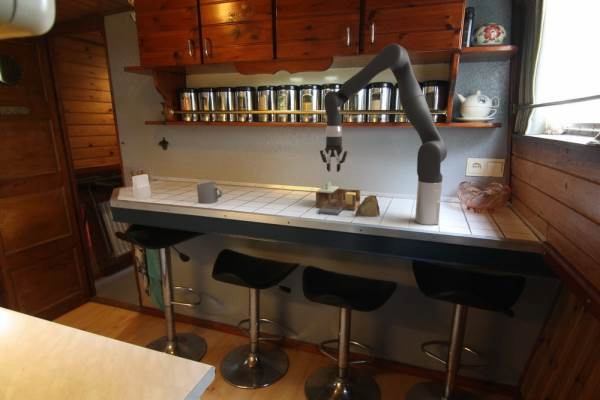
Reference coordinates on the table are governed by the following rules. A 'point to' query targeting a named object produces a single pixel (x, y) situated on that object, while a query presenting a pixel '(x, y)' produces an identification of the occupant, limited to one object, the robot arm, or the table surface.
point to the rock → (368, 207)
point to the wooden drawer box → (338, 199)
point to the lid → (328, 188)
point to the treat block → (349, 197)
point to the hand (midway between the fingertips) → (333, 171)
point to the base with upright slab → (141, 186)
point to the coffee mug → (208, 192)
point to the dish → (330, 210)
